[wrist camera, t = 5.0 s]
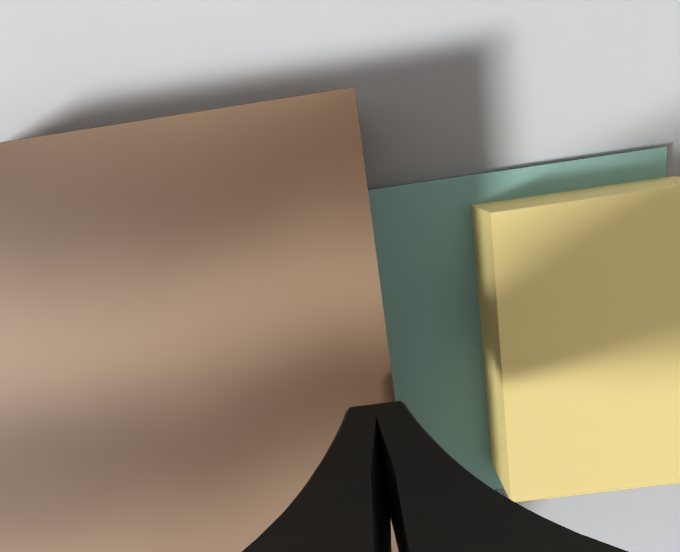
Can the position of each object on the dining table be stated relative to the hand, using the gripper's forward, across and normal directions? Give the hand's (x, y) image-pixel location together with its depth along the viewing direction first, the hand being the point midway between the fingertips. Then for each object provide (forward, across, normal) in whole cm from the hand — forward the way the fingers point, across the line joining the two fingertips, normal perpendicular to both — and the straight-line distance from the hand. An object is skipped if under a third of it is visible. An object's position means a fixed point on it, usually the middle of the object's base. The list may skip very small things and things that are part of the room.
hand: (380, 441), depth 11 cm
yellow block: (+3, -7, 0) cm, 7 cm away
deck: (+5, +6, 0) cm, 7 cm away
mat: (+5, -5, 0) cm, 7 cm away
